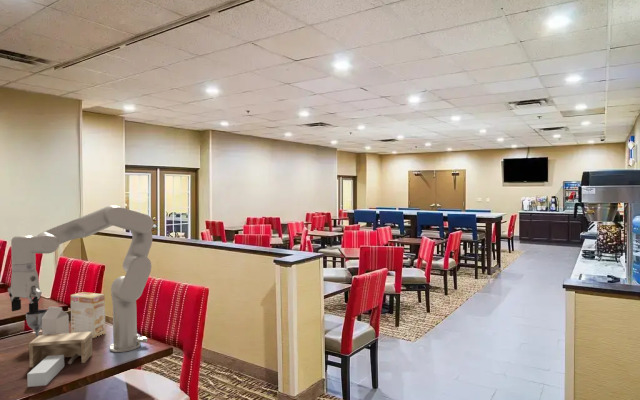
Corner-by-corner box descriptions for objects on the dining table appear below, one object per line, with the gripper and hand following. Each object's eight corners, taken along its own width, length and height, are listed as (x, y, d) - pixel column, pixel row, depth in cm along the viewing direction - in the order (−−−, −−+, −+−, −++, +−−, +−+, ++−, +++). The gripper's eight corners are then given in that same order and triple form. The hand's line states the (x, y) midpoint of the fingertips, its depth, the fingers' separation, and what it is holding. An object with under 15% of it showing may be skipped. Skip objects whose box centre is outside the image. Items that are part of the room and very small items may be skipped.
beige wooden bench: (92, 353, 178) (91, 331, 177) (84, 362, 169) (84, 339, 168) (40, 358, 174) (39, 335, 173) (29, 367, 165) (29, 343, 164)
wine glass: (44, 346, 186) (43, 313, 186) (24, 348, 184) (23, 315, 183) (50, 340, 194) (49, 308, 193) (30, 342, 191) (29, 310, 191)
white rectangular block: (64, 367, 166) (63, 354, 165) (46, 385, 150) (45, 372, 150) (47, 368, 164) (47, 356, 164) (27, 387, 149) (27, 373, 149)
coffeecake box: (106, 333, 202) (105, 293, 202) (93, 338, 196) (92, 297, 195) (83, 329, 208) (82, 291, 207) (70, 334, 201) (69, 294, 201)
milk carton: (56, 353, 178) (55, 310, 177) (42, 352, 179) (41, 309, 179) (69, 347, 185) (68, 305, 184) (55, 346, 186) (54, 304, 186)
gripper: (49, 267, 161) (50, 311, 161) (18, 264, 167) (19, 306, 167) (29, 271, 154) (30, 316, 154) (-2, 267, 160) (-1, 312, 160)
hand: (24, 311), depth 161 cm, fingers open, 9 cm apart
